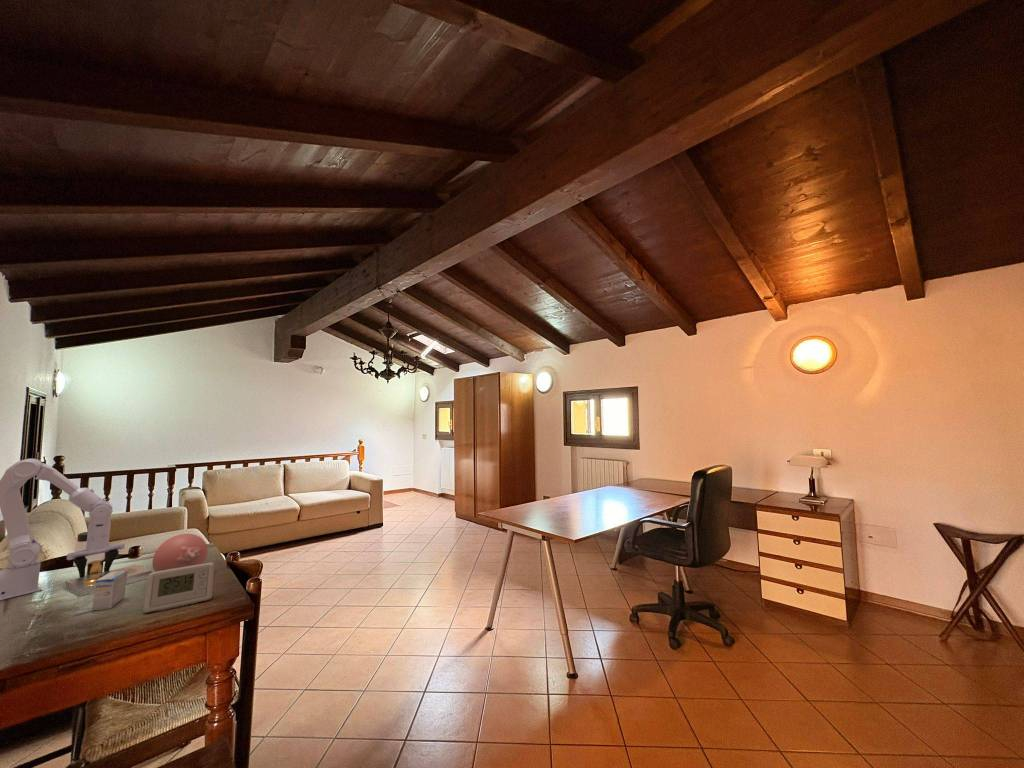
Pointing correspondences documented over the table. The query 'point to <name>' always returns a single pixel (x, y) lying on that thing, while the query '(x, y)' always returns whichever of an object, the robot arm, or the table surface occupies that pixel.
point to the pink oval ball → (180, 552)
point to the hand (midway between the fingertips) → (94, 574)
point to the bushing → (95, 567)
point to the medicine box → (109, 590)
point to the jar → (82, 546)
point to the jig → (88, 582)
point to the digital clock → (178, 587)
